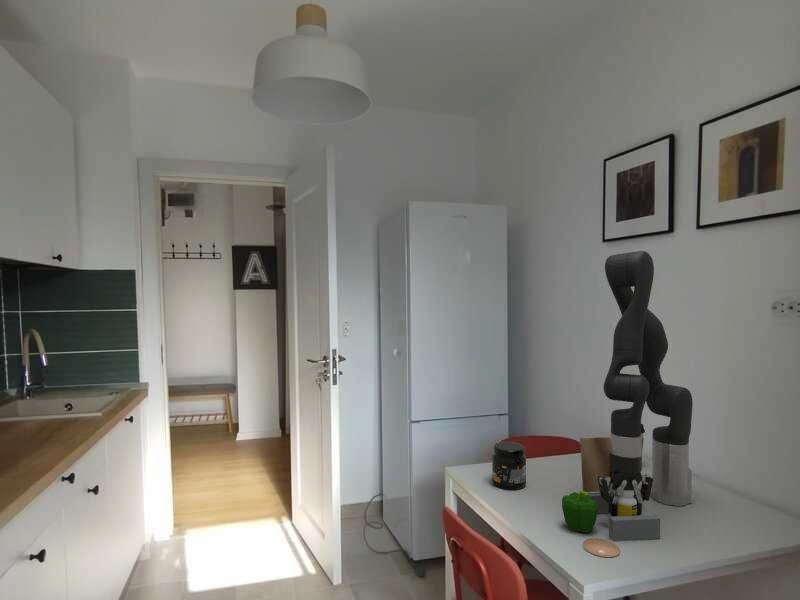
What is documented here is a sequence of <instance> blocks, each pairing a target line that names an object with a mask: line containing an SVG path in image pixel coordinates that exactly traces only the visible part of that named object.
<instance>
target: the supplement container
mask: <svg viewBox="0 0 800 600" xmlns="http://www.w3.org/2000/svg"><path fill="white" fill-rule="evenodd" d="M525 454H526V448H525V446H524V445H523V444H522V443H519V442H514V441H499V442H496V443H495V444H493V454H492V455H491V460H492V464H491V465H492V467H491V470H492V472H491V474H492V476H491V481H492V483H493V485H495V486H496V487H498V488H501V489H503V490H512V491H513V490H520V489H523V488H524V487H525V486H526V484H527V456H526V455H525Z"/></svg>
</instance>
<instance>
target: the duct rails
mask: <svg viewBox="0 0 800 600" xmlns="http://www.w3.org/2000/svg"><path fill="white" fill-rule="evenodd" d="M587 493H588V494H589V495H590V497H591V498H592V500H595V502H596V504H597V506H598V512H597V515H600V514H601V515H605V514H607V515H610V514H609V502H606V501H605V500H604V499H603V498H601V494H600V492H587ZM609 493H610V491H609ZM608 538H609V539H611V542H621V541H641V540H644V541H645V540H661V518H660V517H659V516H657V515H656V514H649V515H647V514H646V515H642V514H641V515H640V516H616V517H612V516H608Z"/></svg>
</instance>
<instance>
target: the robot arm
mask: <svg viewBox="0 0 800 600" xmlns="http://www.w3.org/2000/svg"><path fill="white" fill-rule="evenodd" d="M604 273H605V278H606V280H607V283H608V286H609V288H610V289H611V293H612V294H613V297H614V299H615V301H616V303H617V307H618V308H619V310H620V311H619V312H620V313H621V317H620V318H619V320H618V322H617V324H616V326H615V329H614V332H613V341H612V342H613V344H612V356H611V362H610V366H609V368H608V371H607V374H606V376H605V379H604V383H603V393H604V395H605V396H606V397H607V398H608V399H609V400H611V401H617V402H619V401H620V402H627V403H632V406H630V407H629V408H620V409H614V410H613V411H612V412H611V415H610V436H609V437H610V473H609V475H608V476H605V477H601V476H598V483H599V489H600V494H601V498H603V499H604V500H605V501H606V502H609V514H608V515H610V517H616V516H617V504H616V503H617V501H618V498H619V497H620V496H621V494H622V492H623V490H634V496H633V497H635V498H636V500H637V516H641V515H642V511H643V506H642V505H643V502H645V501H647V502H648V501H650V498H652V499H653V500H655V501H657V502H658V503H661V504H664V505H668V506H675V507H682V506H686V505H688V504H692V501H693V499H692V497H693V496H692V491H693V490H692V489H693V485H692V484H693V483H692V482H693V470H692V469H691V468H689V464H690V463H689V462H690V460H689V458H690V457H689V452H690V451H689V449H690V448H689V446H690V445H689V444H690V442H689V441H690V435H691V432H692V417H693V405H694V404H693V396H692V393H691V391H690V390H689V388H686V387H684V386H678V385H673V384H667V383H666V384H665V383H664V382H663V381H664V380H663V379H662V376H661V366H662V363H663V361H664V359H665V358H666V355H667V353H668V350H669V342H668V338H667V335H666V331H665V329H664V325H663V323H662V321H661V320H660V319H659V318H658V317H657V316H656V315H655V313H653V312H652V311H651V310H650V309H649V304H650V303H649V302H650V297H651V293H652V288H653V282H654V277H655V275H654V274H655V266H654V259H653V258H652V255H651V254H649V252H647V251H644V250H638V251H630V252H624V253H623V252H622V253H616V254H611V255H609V256H608V257H607V258H606V259H605V264H604ZM632 287H634V288H632ZM630 366H631V367H632V366H637V368H638V371H639V374H629V373H621V371H622V370H623V369H624V368H626V367H630ZM645 404H646V406H647V407H648V409H649V411H650V412H652V413H653V414H655V415H658V416H662V417H666V418H670V419H669V424H668V425H664V426H663V425H662V426H656V427H654V428H653V429H652V435H651V436H652V439H651V440H652V441H651V442H652V445H651V446H652V454H651V459H652V460H651V476H649V474H647V473H646V474H642V471H643V469H642V468H643V466H642V465H643V463H642V462H643V461H642V460H643V459H642V458H643V450H642V441H641V424H642V416H643V411H644V408H645ZM609 481H611V482H612V485H611V487H610V491H608V486H609ZM640 483H641V486H640V487H639V485H640ZM616 489H617V491H616ZM609 492H610V493H609Z"/></svg>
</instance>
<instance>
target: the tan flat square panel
mask: <svg viewBox="0 0 800 600" xmlns="http://www.w3.org/2000/svg"><path fill="white" fill-rule="evenodd" d="M579 444H580V447H579V448H580V461H581V462H580V463H581V464H580V465H581V480H582V491H585V492H587V493H599V492H600V489H599V483H598V476H601V477H605V476H608V475H609V473H610V436H603V437H601V436H600V437H599V436H598V437H597V436H596V437H579ZM611 485H612V482H611V481H609V486H608V491H609V492H610V487H611ZM616 491H617V489H616Z"/></svg>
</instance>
